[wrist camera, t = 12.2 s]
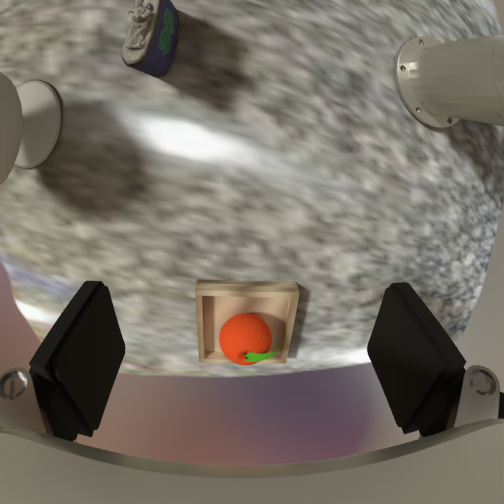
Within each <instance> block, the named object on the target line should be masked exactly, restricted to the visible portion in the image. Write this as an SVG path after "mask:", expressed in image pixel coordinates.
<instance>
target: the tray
mask: <svg viewBox="0 0 504 504" xmlns="http://www.w3.org/2000/svg"><path fill="white" fill-rule="evenodd" d="M195 294H196V316H197V334H198V350H199V362H207V363H234V362H232V361H231V360H229V359H228V358H227V357H226V356H225V355H224V353H223V352H222V350H221V348H220V342H219V335H220V331H221V328H222V326H223V325H224V323H225V322H226V321H227V320H228V319H229V318H231V317H233V316H235V315H238V314H242V313H249V314H254V315H256V316H259V317H260V318H262V319H263V320H264V321H265V322H266V323H267V325H268V326H269V328H270V331H271V334H272V345H271V348H270V350H269V352H268V353H272V352H275V351H276V350H278V349H279V350H278V352H277V353H276V354H275V355H273V356H272V357H270V358H268V359H265V360H262V361H259V362H257V363H255V364H271V363H286V361H287V356H288V351H289V346H290V341H291V336H292V331H293V326H294V321H295V315H296V310H297V305H298V299H299V294H300V292H299V289H298V286H297V284H296V282H259V281H226V280H199V279H197V284H196V289H195ZM280 345H281V346H280ZM279 347H280V348H279Z"/></svg>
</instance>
